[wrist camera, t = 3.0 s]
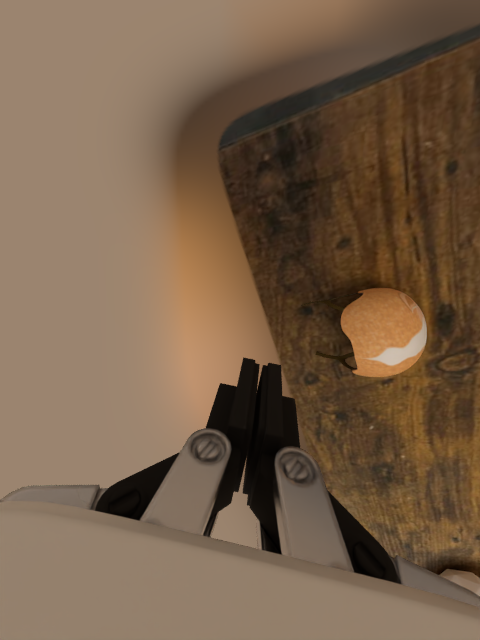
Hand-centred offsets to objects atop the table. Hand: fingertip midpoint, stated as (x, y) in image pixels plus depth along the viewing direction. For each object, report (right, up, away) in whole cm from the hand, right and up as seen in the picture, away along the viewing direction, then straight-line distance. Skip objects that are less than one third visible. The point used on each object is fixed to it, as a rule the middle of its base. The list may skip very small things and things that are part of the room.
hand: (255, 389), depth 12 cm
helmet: (+8, +3, +9) cm, 13 cm away
